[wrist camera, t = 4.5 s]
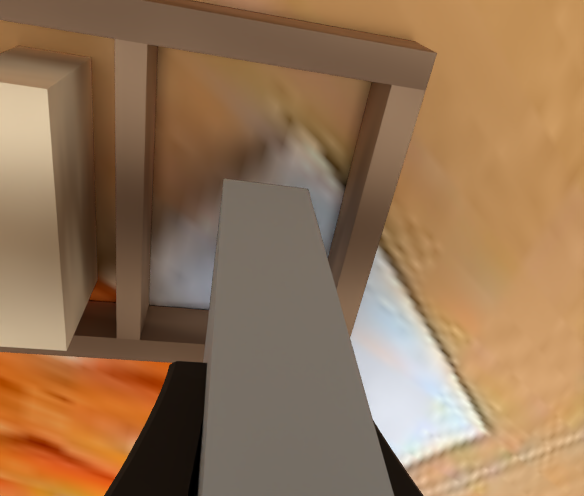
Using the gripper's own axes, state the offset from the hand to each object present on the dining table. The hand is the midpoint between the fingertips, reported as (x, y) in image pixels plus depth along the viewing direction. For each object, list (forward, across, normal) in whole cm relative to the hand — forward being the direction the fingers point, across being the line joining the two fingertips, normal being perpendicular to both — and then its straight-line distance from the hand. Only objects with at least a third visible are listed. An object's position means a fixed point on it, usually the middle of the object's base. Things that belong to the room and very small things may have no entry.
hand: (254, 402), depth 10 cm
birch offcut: (+9, +6, 0) cm, 11 cm away
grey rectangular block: (+4, 0, 0) cm, 4 cm away
